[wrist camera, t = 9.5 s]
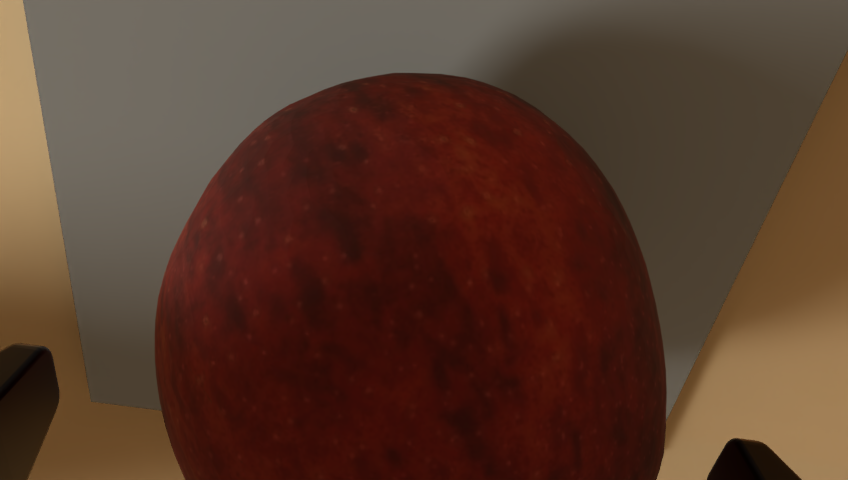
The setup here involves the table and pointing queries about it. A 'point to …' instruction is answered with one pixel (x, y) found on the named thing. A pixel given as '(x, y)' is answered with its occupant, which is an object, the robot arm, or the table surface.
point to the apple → (410, 299)
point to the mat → (436, 54)
